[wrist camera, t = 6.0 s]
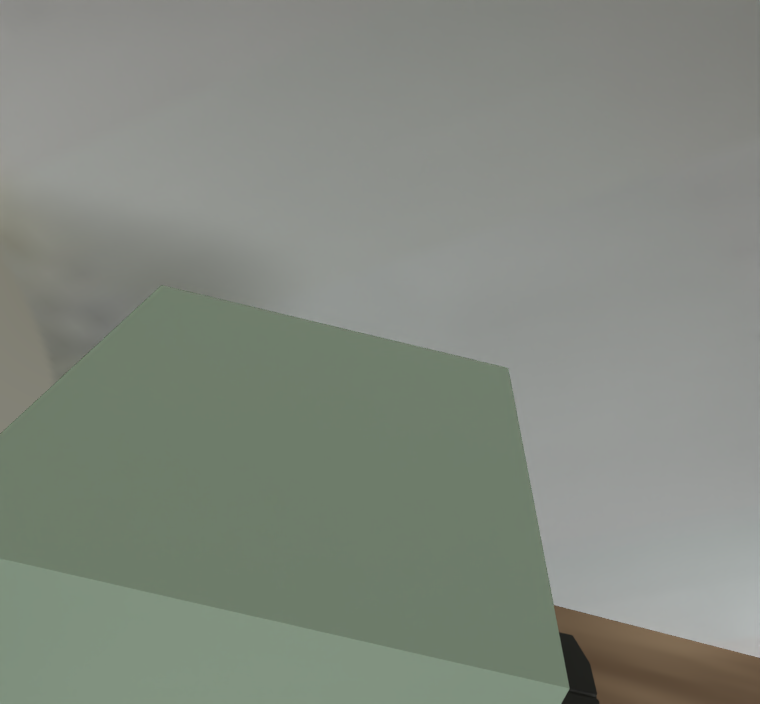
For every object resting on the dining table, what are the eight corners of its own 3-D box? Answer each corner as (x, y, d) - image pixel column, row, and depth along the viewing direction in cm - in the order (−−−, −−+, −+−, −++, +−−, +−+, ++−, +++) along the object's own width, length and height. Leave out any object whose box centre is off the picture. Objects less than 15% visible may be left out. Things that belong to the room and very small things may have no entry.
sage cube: (161, 285, 13) (-110, 533, 6) (508, 368, 13) (568, 687, 7) (142, 546, 16) (-50, 881, 10) (421, 610, 16) (407, 980, 10)
